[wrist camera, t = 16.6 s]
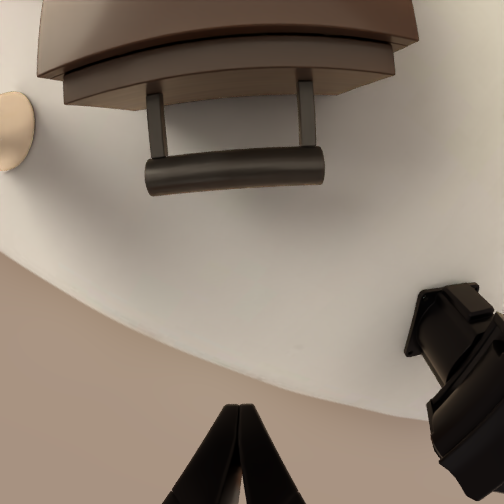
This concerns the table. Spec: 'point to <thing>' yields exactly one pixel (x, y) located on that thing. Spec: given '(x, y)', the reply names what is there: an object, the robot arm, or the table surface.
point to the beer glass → (15, 129)
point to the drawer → (231, 85)
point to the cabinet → (203, 25)
